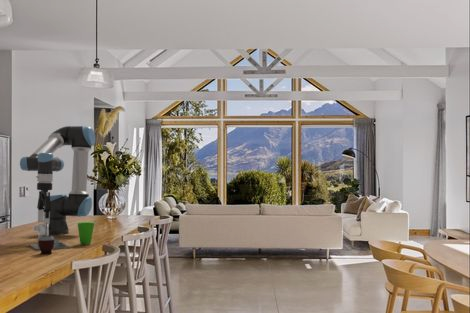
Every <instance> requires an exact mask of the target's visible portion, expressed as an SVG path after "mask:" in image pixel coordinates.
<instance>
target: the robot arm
mask: <svg viewBox="0 0 470 313" xmlns="http://www.w3.org/2000/svg"><path fill="white" fill-rule="evenodd" d="M95 144H96V135H95V130H94V129H93V128H92V127H91V126H86V125H80V126H78V125H76V126H75V125H73V126H72V125H71V126H70V125H67V126H63V127H61V128H58V129H56V130H55V131H53V132H52V133H51V134H49V136H48V138H47V140H45V141H44V142H43V143H42V144H41V145H40V146H39V147H38V148H37V149H36V150H35V151H34V152H33V153H32V154H31V155H30V156H23V157H21V159H20V161H19V166H20V167H19V168H20V169H21V170H22V171H27V172H37V176H35V178H36V181H37V184H36V190H37V191H38V200H37V206H36V208H37V223H43V224H44V225H46V223H47V225H49V235H50V236H52V235H66V234H69V232H70V229H69V224H68V223H67V217H79V218H80V217H87V216H88V215H89V214H90V213H91V210H92V207H93V201H92V200H93V199H92V197H90V196H89V195H90V193H89V192H88V191H87V187H88V186H87V184H88V166H89V152H90V151H91V150H92V147H93V146H95ZM64 146H70V147H71V149H72V151H73V155H72V156H73V159H72V176H71V178H72V179H71V190H70V192H69V193H68V196H67V194H66V193H63V194H54V195H51V192H50V191H52V190H53V181H54V180H53V178H54V174H53V173H54V172H60V171H62V170H63V169H64V167H65V162H64V160H63V159H62V158H60V157H58V156H57V157H54V153H55V152H56V151H57V150H58V149H61V148H62V147H64Z"/></svg>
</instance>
